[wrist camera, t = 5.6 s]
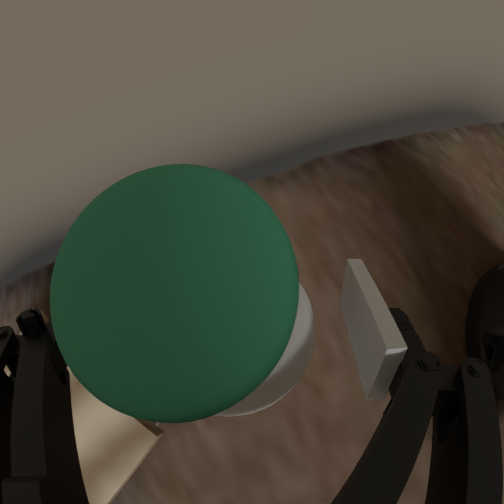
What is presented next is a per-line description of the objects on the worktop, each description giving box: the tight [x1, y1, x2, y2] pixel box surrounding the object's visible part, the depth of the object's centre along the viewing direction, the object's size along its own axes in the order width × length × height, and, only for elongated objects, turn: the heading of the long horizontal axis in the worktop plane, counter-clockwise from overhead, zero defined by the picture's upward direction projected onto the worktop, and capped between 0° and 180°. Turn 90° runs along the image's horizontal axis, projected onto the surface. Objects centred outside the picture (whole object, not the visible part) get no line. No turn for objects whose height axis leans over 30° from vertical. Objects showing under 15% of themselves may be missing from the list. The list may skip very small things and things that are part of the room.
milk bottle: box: [50, 164, 315, 423], centre depth 13 cm, size 8×8×20 cm
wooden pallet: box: [4, 308, 164, 504], centre depth 19 cm, size 16×13×4 cm
